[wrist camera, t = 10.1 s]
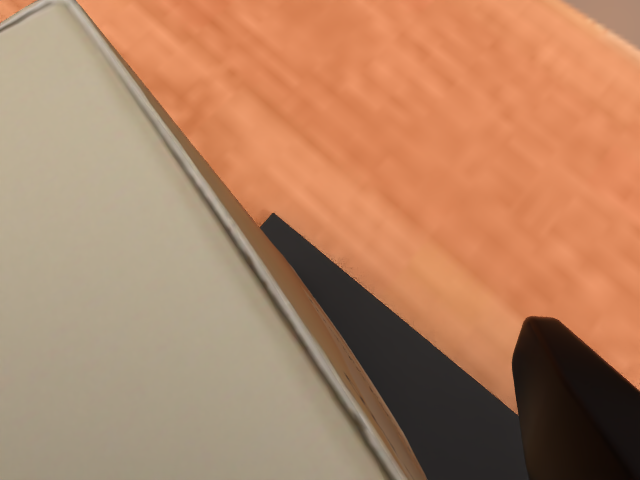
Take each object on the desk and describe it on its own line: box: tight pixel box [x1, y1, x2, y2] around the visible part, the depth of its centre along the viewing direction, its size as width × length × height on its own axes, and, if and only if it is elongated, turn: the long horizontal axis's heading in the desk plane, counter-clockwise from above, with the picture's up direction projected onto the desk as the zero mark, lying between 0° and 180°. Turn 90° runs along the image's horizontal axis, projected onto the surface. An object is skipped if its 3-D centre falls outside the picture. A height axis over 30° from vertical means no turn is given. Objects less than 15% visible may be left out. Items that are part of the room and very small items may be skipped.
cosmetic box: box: [0, 0, 427, 480], centre depth 9 cm, size 6×4×12 cm
